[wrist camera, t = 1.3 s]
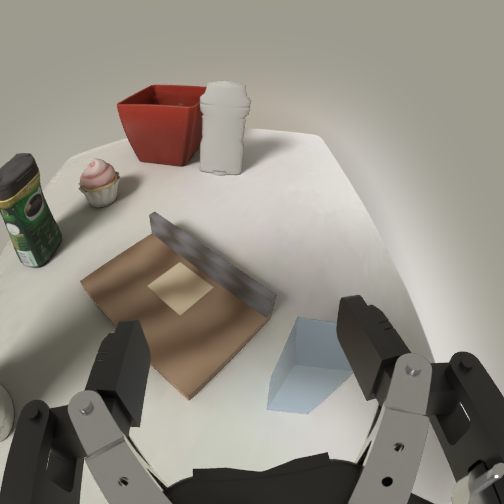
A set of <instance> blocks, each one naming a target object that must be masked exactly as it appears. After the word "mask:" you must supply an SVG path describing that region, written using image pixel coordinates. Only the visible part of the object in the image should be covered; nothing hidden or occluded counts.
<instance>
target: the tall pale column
mask: <svg viewBox="0 0 504 504" xmlns="http://www.w3.org/2000/svg"><path fill="white" fill-rule="evenodd" d="M250 104H251V100H250V99H249V98H248V97H247V94H246V87H245V85H242V84H237V83H233V82H230V81H220V82H208V85H207V88H206V91H205V94H203V95H202V96H200V111H201V112H202V113H203V115H202V118H203V119H202V121H203V124H202V125H203V126H202V128H203V130H202V133H203V134H202V135H203V137H202V140H201V143H200V171H202V172H207V173H213V174H215V175H226V174H227V175H239V174H241V169H242V160H243V150H244V145H243V141H242V139H243V135H244V134H243V133H244V132H243V131H244V128H245V127H244V126H245V125H244V124H245V121H246V119H245V117H246V116H247V115H248V114H249V111H250Z"/></svg>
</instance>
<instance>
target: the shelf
mask: <svg viewBox="0 0 504 504" xmlns="http://www.w3.org/2000/svg"><path fill="white" fill-rule="evenodd" d="M149 217H150V224H151V231H152V234H151V235H149V236H147V237H146V238H144V239H143V240H141V241H139V242H138V243H136V244H135V245H133V246H132V247H130V248H129V249H127V250H126V251H124V252H122V253H121V254H119V255H118V256H116V257H115V258H113V259H112V260H110V261H109V262H107V263H106V264H104V265H103V266H101V267H100V268H98V269H97V270H96V271H94V272H93V273H91V274H90V275H88V276H87V277H85V278H84V279H83V280H81V281H80V282H81V284H82V286H83V288H84V289H85V290H86V292H87V293H88V294H89V295H90V297H91V298H92V299H93V300H94V302H95V303H96V304H97V305H98V307H99V308H100V309H101V310H102V311H103V313H104V314H105V315H106V316H107V317H108V319H109V320H110V321H111V322H112V323H113V324H114V326H115V327H116V328H117V325H118V323H119V321H120V320H136V319H137V320H139V322H140V324H141V327H142V329H143V332H144V335H145V337H146V340H147V343H148V345H149V348H150V354H151V362H150V364H151V365H152V366H153V367H154V368H155V369H156V370H157V371H158V372H159V373H160V374H161V375H162V376H163V377H164V378H165V379H166V380H167V381H168V382H169V383H171V384H172V385H173V386H174V387H175V388H176V389H177V390H178V391H179V392H180V393H181V394H183V395H184V396H185V397H186V398H187V399H188V400H190V399H191V398H192V397H193V396H194V395H195V394H196V393H197V392H198V391H199V390H201V389H202V388H203V387H204V386H205V385H206V384H207V383H208V382H209V381H210V380H211V379H212V378H213V377H214V376H215V375H216V374H217V373H218V372H219V371H220V370H221V369H222V368H223V367H224V366H225V365H226V364H227V363H228V362H229V361H230V360H231V359H232V358H233V357H234V356H235V355H236V354H237V353H238V352H239V351H240V349H241V348H242V347H243V346H244V345H245V344H246V343H247V342H248V341H249V340H250V339H251V338H252V337H253V336H254V335H255V334H256V333H257V332H258V331H259V330H260V329H261V327H262V326H263V325H264V324H265V323H266V322H267V321H268V320H269V319H270V317H271V313H272V310H273V306H274V303H275V299H276V296H277V295H276V294H275V293H273V292H272V291H270V290H269V289H267V288H266V287H264V286H263V285H261V284H260V283H258V282H257V281H255V280H254V279H252V278H251V277H249V276H248V275H246V274H245V273H243V272H242V271H240V270H239V269H237V268H236V267H234V266H233V265H231V264H230V263H229V262H227V261H226V260H224V259H223V258H221V257H220V256H218V255H217V254H215V253H214V252H212V251H211V250H210V249H208V248H207V247H205V246H204V245H202V244H201V243H199V242H198V241H196V240H195V239H194V238H192V237H191V236H189V235H188V234H186V233H185V232H183V231H182V230H181V229H179V228H178V227H176V226H175V225H173V224H172V223H171V222H169V221H168V220H166V219H165V218H163V217H162V216H161V215H159V214H158V213H156V212H153V213H152V214H150V215H149Z"/></svg>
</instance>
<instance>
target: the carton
mask: <svg viewBox="0 0 504 504" xmlns="http://www.w3.org/2000/svg"><path fill="white" fill-rule="evenodd" d="M336 326H337V323H335V322H327V321H320V320H313V319H307V318H300V317H298V318H297V320H296V322H295V325H294V327H293V329H292V332H291V334H290V336H289V338H288V341H287V343H286V345H285V347H284V350H283V352H282V354H281V356H280V358H279V361H278V363H277V365H276V367H275V369H274V371H273V373H272V376H271V381H270V389H269V396H268V404H267V410H273V411H282V412H291V413H301V414H308V413H310V412H311V411H312V410H313V409H314V408H315V407H317V406H318V405H319V404H320V403H321V402H322V401H323V400H325V399H326V398H327V397H328V396H329V395H330V394H331V393H332V392H333V391H334V390H336V389H337V388H338V387H339V386H340V385H341V384H342V383H343V382H344V381H345V380H346V379H347V378H348V377H349V376H350V375H351V374H352V373H353V370H352V368H351V366H350V364H349V362H348V360H347V358H346V355H345V353H344V351H343V349H342V347H341V345H340V343H339V341H338V338H337V333H336Z"/></svg>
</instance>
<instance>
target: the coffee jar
mask: <svg viewBox="0 0 504 504" xmlns="http://www.w3.org/2000/svg"><path fill="white" fill-rule="evenodd" d="M0 213H1V215H2V217H3V220H4V222H5V225H6V227H7V230H8V232H9V235H10V238H11V241H12V243H13V246H14V249H15V251H16V253H17V255H18V258H19V259H20V261H21V262H22V263H23V264H24V265H26V266H28V267H39V266H42V265H44V264H45V263H46V262H47V261H48V260H49V258H50V257H51V256H52V255H53V253H54V252H55V250H56V249H57V247H58V246H59V244H60V242H61V239H62V234H61V232H60V230H59V227H58V225H57V223H56V221H55V219H54V218H53V216H52V214H51V211H50V209H49V207H48V205H47V203H46V200H45V198H44V195H43V192H42V189H41V185H40V173H39V169H38V167H37V164H36V162H35V159H34V158H33V156H32V155H31V154H29V153H21V154H16V155H15V156H14V158H12V159H11V160H10V161H9V162H7V163H6V164H5V165H4V166H3V167H1V168H0Z"/></svg>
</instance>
